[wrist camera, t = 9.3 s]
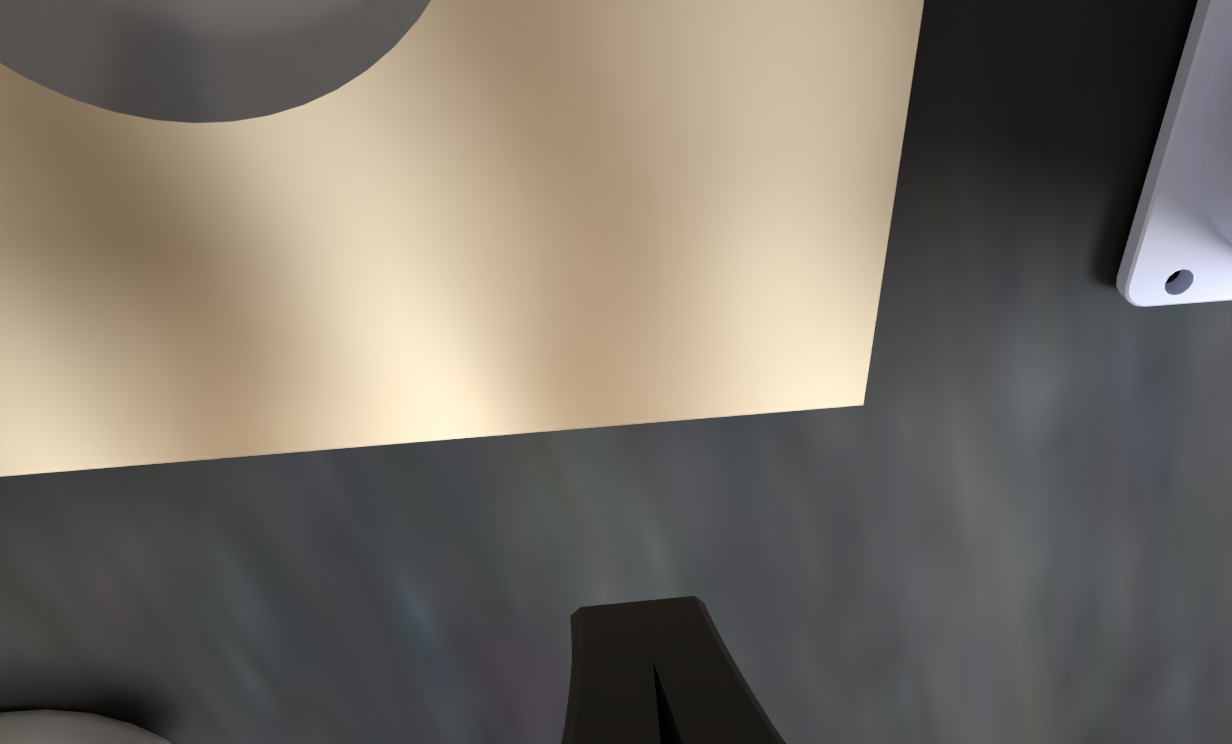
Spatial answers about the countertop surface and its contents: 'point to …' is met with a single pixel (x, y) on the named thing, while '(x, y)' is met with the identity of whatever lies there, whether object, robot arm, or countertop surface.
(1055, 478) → the countertop surface
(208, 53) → the lever
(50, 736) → the cup
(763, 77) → the lock board
